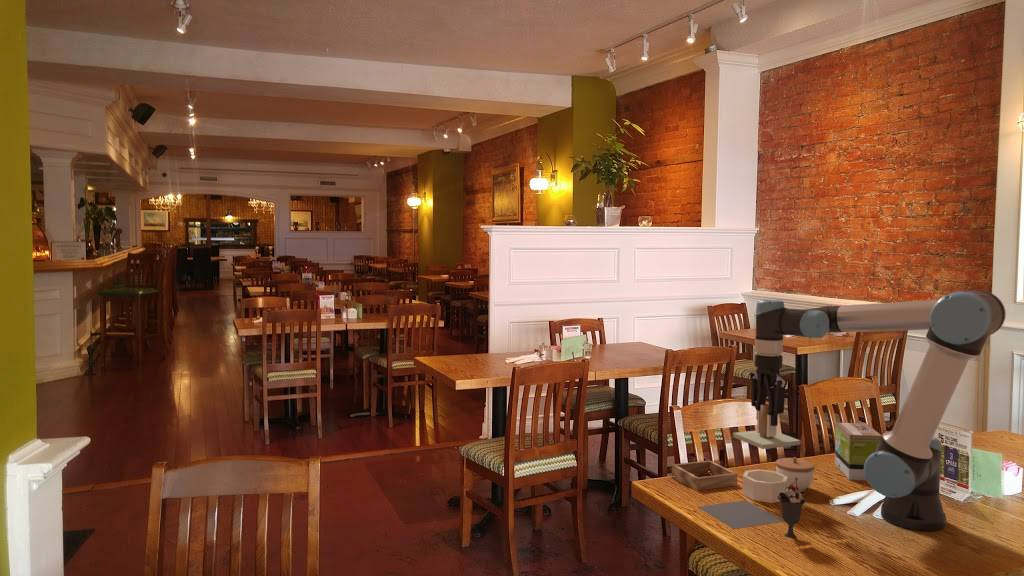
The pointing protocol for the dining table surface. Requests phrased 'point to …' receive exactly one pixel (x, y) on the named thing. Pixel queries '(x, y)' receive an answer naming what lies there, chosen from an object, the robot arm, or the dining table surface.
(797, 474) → the lidded jar
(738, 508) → the mat
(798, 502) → the sundae
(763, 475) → the bowl
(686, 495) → the dining table surface
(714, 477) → the tray
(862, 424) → the tea box
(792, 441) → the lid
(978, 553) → the dining table surface
